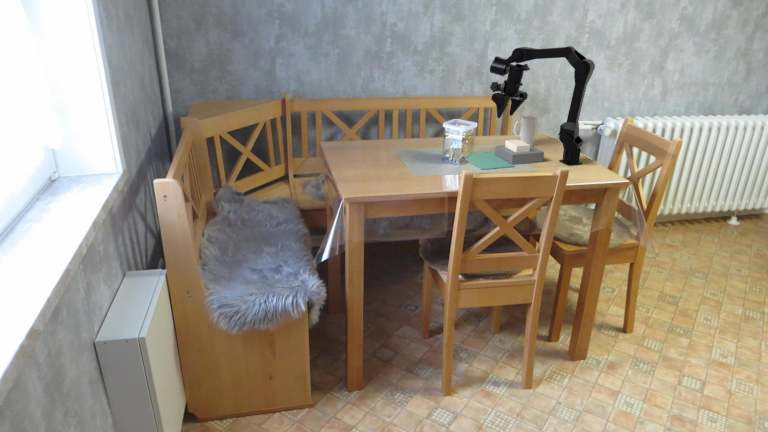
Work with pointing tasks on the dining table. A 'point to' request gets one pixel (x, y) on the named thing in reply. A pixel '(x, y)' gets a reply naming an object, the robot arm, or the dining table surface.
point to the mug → (526, 129)
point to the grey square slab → (519, 155)
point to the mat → (488, 161)
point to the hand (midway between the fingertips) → (504, 116)
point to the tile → (517, 146)
